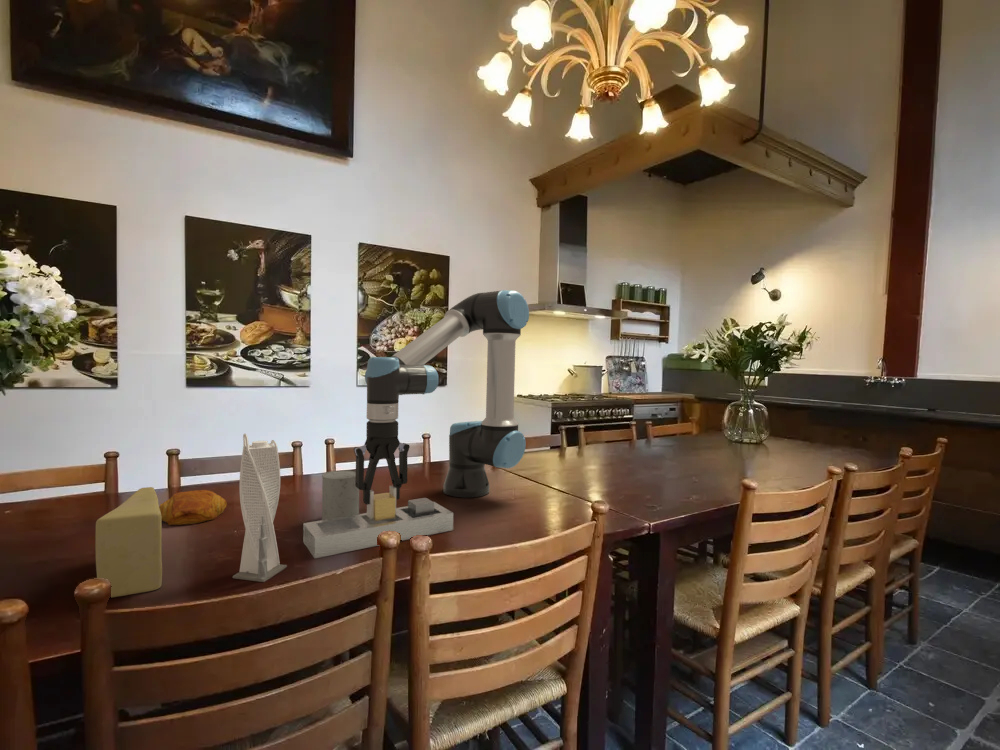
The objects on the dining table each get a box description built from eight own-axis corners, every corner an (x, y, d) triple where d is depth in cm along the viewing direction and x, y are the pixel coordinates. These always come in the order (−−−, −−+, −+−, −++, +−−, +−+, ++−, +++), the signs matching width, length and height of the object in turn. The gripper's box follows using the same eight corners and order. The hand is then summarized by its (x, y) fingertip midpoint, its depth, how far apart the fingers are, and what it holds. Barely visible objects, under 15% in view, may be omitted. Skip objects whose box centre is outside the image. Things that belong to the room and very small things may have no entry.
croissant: (167, 520, 136) (162, 491, 135) (230, 507, 141) (226, 480, 141) (151, 536, 122) (145, 505, 122) (221, 521, 128) (216, 491, 127)
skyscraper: (226, 577, 97) (226, 436, 96) (254, 560, 105) (254, 430, 104) (264, 582, 95) (264, 438, 94) (290, 565, 103) (290, 432, 102)
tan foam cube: (368, 515, 121) (368, 495, 121) (387, 512, 124) (387, 492, 124) (375, 521, 117) (375, 500, 117) (395, 517, 120) (395, 497, 120)
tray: (303, 542, 116) (303, 512, 115) (433, 518, 135) (434, 492, 134) (314, 558, 107) (314, 526, 106) (453, 530, 126) (453, 503, 125)
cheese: (122, 555, 106) (121, 487, 106) (175, 548, 111) (175, 482, 110) (94, 601, 87) (93, 517, 86) (161, 590, 91) (160, 510, 91)
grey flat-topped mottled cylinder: (324, 528, 125) (324, 480, 125) (319, 516, 134) (319, 472, 133) (362, 522, 130) (362, 476, 129) (355, 512, 138) (355, 469, 138)
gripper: (350, 424, 111) (349, 525, 112) (423, 420, 122) (421, 513, 122) (340, 420, 118) (339, 516, 119) (410, 416, 128) (409, 505, 129)
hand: (381, 514), depth 120 cm, fingers closed on tan foam cube, 5 cm apart
